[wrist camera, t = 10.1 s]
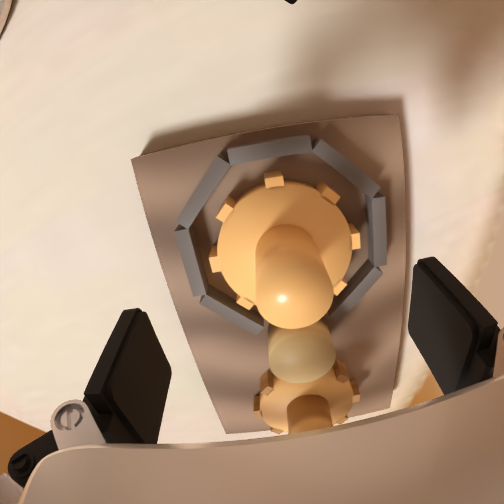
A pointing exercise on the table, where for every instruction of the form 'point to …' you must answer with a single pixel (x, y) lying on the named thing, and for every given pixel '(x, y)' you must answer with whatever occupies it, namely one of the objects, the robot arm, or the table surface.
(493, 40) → the table surface
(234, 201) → the gear
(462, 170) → the table surface
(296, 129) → the carrier
